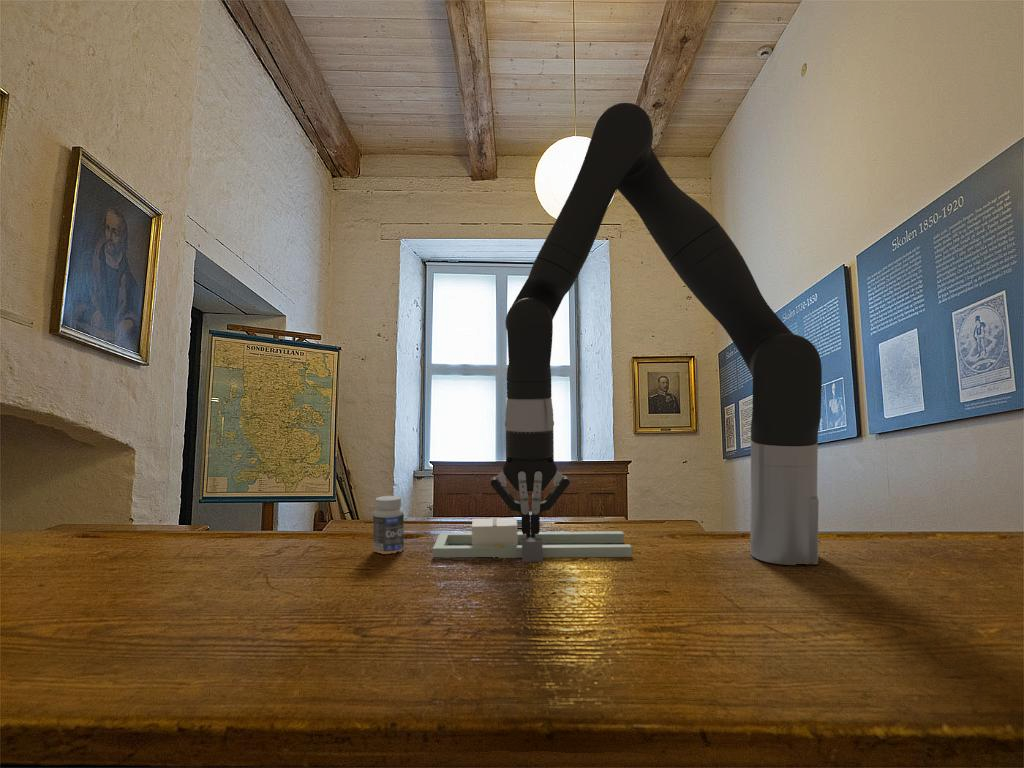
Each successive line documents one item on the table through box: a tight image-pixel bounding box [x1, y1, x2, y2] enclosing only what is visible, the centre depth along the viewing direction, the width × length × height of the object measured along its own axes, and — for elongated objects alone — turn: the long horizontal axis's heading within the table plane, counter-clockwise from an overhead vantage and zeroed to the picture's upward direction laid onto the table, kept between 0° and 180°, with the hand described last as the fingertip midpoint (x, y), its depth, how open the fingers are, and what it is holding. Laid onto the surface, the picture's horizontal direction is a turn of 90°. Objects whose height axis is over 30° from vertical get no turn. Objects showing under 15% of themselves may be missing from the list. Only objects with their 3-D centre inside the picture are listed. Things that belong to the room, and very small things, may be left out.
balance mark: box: [495, 544, 503, 548], centre depth 107 cm, size 1×9×1 cm, turn 179°
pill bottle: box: [372, 495, 405, 552], centre depth 107 cm, size 5×5×8 cm
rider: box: [471, 517, 519, 545], centre depth 107 cm, size 7×5×5 cm
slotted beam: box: [432, 530, 633, 563], centre depth 106 cm, size 30×11×3 cm, turn 89°
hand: (530, 536), depth 107 cm, fingers closed
